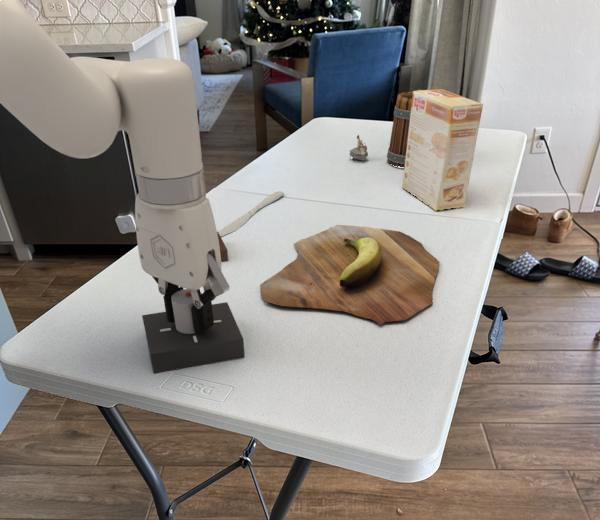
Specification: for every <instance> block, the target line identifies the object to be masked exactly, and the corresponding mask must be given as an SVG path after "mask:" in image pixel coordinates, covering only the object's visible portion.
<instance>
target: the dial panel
mask: <svg viewBox="0 0 600 520" xmlns="http://www.w3.org/2000/svg"><path fill="white" fill-rule="evenodd" d="M212 311H213V320H214V324H213V325H212V326H211V327H210V328H208V329H207V330H205V331H204V332H202V333H200V334H197V333H193V334H185V333H181V332H179V331H178V330H177V329H176V325H175V322H173V323H170V322H168V321H167V316H166V311H161V312H154V313H149V314H143V315H141V318H142V322H143V323H142V324H143V329H144V333H145V337H146V343H147V347H148V352H149V353H148V354H149V358H150V363H151V367H152V372H153V374H156V373H157V374H158V373H163V372H168V371H169V372H170V371H174V370H180V369H185V368H191V367H197V366H202V365H207V364H215V363H220V362H224V361H229V360H237V359H242V358H245V344H244V337H243V335H242V333H241V330H240V328H239V325H238V323H237V322H236V321H237V320H236V319H235V317H234V314H233V312H232V310H231V308H230V305H229V303H228V302H227V301H226V302H218V303H212Z"/></svg>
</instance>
